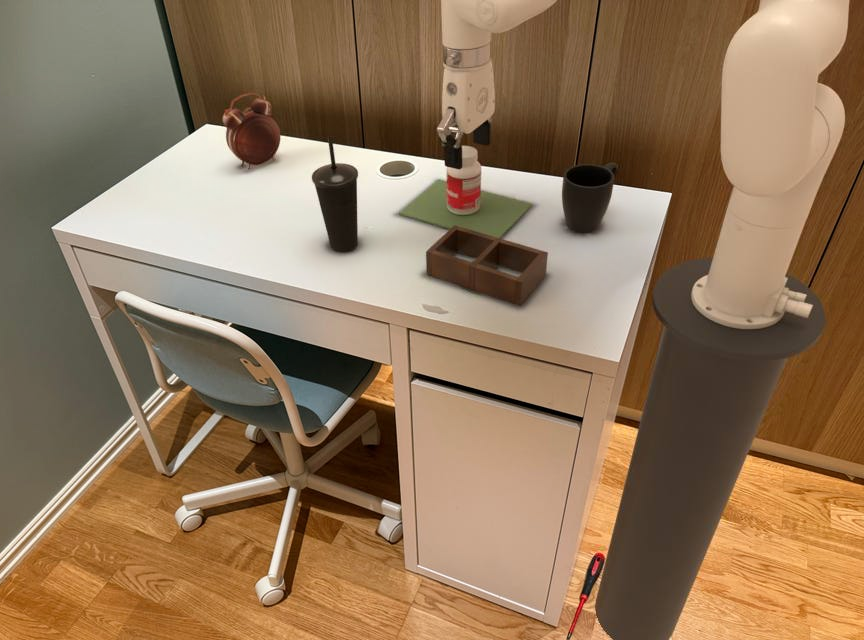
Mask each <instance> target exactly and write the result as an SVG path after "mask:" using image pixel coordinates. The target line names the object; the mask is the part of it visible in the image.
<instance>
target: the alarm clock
mask: <svg viewBox="0 0 864 640" xmlns="http://www.w3.org/2000/svg"><path fill="white" fill-rule="evenodd" d="M252 95H253V96H256V97H257V98H255V99H253V100H252V102H251V103H250V105H249V106H245V107H244V108H243V109H242V110H240V109H238V108H236V107H234V103H235V102H237V101H238V100H239V99H242V98H244V97H247V96H252ZM230 102H231V103H230V106H229V108H228V109H224V111H223V112H224V113H223V115H222V123H223V125H224V127H225V128H226V131H225V139H226V144H227V146H228V148H229V150H230V152H232V154H233V155H234V156H235V158H237V159H238V160H240V161H241V164H240V166H241V167H245V166H244V165H245V164H247V165H248V167H247V170H251V166H259V165H263V164H265V163H267V162H269V161H270V160H271V159H272V161H276V158H275V157H274V156H276V153H277V152H278V150H279V148H280V144H281V131H280V128H279V125H278V124H277V121H275V120H274V119H273V118H272V117H271V115H272V112H273V107H272V105H271V103H270V102H269V100H267V99H266V95H262V97H261V95H260V94H259V93H257V92H254V91H253V92H245V93H243V94H239V95H238V96H237V97H235V98H234V99H232V100H231V101H230Z"/></svg>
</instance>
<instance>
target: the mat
mask: <svg viewBox="0 0 864 640" xmlns="http://www.w3.org/2000/svg"><path fill="white" fill-rule="evenodd" d="M532 207H533V204H532V203H529V202H526V201H523V200H518V199H515V198H511V197H507V196H504V195H499V194H495V193H492V192H487V191H484V190H481V203H480V208H479V210H478V211H477V212H475V213H473V214H470V215H456V214H453V213H452V212H450V211H449V210H448V208H447V180H446V181H445V180H442V179H437V180H436V181H435V182H434V183H433V184H432V185H430V187H428V188H427V189H426V190H425V191H423V192H422V193H421V194H420V195H419V196H418V197H416V198H415V199H414V200H412V201H411V202H410V203H409V204H408V205H406V206H405V207H404V208H403V209H402V210H400V212H398V214H399V215H400V216H403V217H406V218H410V219H413V220H416V221H420V222H424V223H427V224H430V225H433V226H435V227H436V226H437V227H440V228H443V229H447V230H450V229H451V228H452V227H453V226H454V225H456V226H459V227H463V228H466V229H470V230H473V231H476V232H480V233H483V234H487V235H490V236H494V237H497V238H500V239H502V237H503V236H504V235H505V234H506V233H507V232H509V230H510V229H511V228H512V227H513V226H514V225H515V224H516V223H517V222H518V221H519V220H520V219H521V218H522V217H523V215H525V214H526V212H528V211H529V210H530V209H531V208H532Z"/></svg>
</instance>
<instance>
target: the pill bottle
mask: <svg viewBox="0 0 864 640" xmlns="http://www.w3.org/2000/svg"><path fill="white" fill-rule="evenodd" d="M461 146H462V168H461V169H460V170H459V169H454V168H450V167H446V182H447V208H448V210H449V211H450V212H452V213H453V214H456V215H470V214H473V213H475V212H477V211H478V210H479V208H480V203H481V191H482V165H481V163H480V162H479V161H478V159H479V156H478V150H477V148H476V147H473V146H470V145H461Z"/></svg>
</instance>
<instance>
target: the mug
mask: <svg viewBox="0 0 864 640" xmlns="http://www.w3.org/2000/svg"><path fill="white" fill-rule="evenodd" d="M618 169H619V166H618V164H617V163H616V162H608V163H607V164H604V166H602V165H599V164H591V163H585V164H577V165H573V166H571V167H569V168H566V170H565V171H564V173H563V177H562V187H561V203H562V210H563V211H562V212H563V216H564V220H565V225H566V227H567V229H568V230H569V231H571V232H574V233H578V234H591V233H594V232H596V231H597V230H598V229H599V227H600V224H601V222H602V221H603V218H604V217H605V214H606V213H607V211H608V208H609V206H610V203H611V200H612V195H613V190H614V183H615V180H616V177H617V174H618Z"/></svg>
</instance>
